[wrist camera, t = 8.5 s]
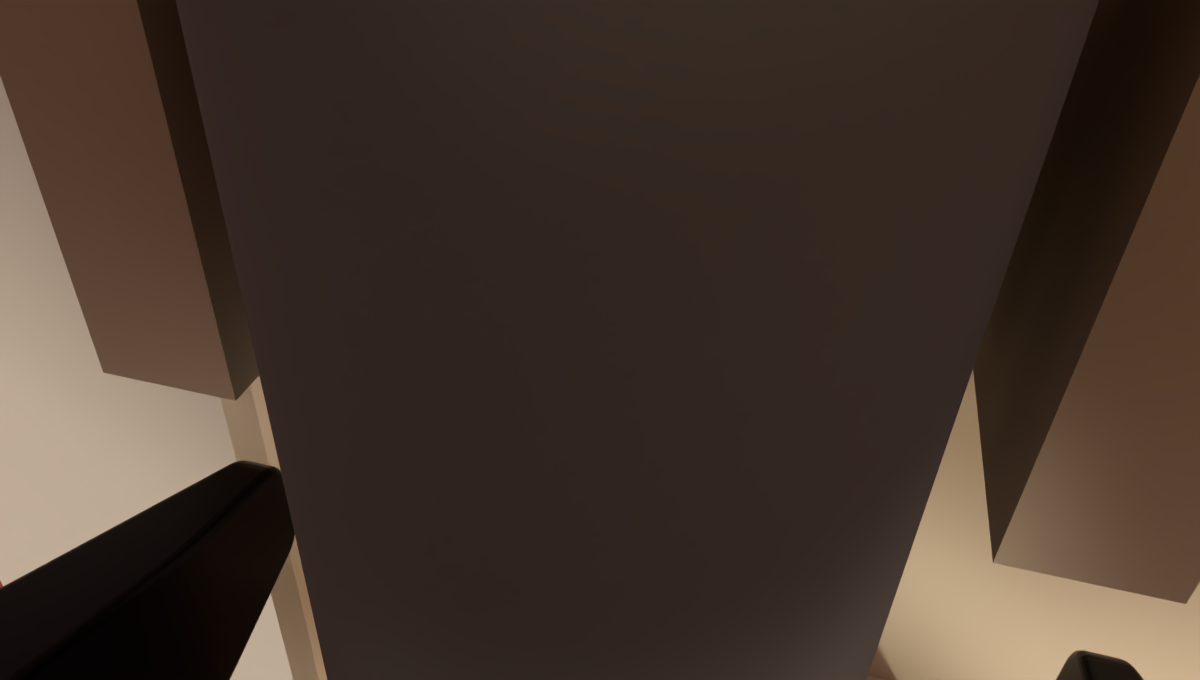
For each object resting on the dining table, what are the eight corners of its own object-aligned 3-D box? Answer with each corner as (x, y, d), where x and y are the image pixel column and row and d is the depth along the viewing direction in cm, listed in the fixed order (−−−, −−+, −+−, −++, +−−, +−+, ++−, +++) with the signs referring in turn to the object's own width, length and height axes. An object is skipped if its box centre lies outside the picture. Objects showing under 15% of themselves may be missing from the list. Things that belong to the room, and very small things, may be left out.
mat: (350, 719, 17) (335, 748, 17) (67, 640, 18) (44, 666, 18) (40, -775, 6) (-29, -812, 6) (-594, -744, 8) (-696, -774, 7)
